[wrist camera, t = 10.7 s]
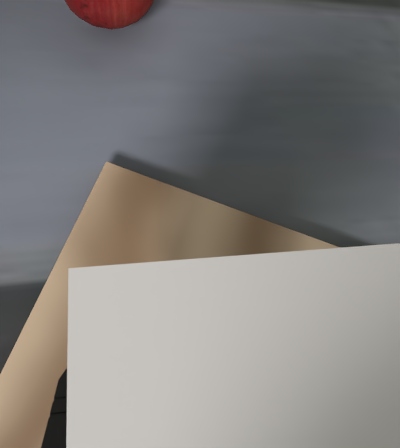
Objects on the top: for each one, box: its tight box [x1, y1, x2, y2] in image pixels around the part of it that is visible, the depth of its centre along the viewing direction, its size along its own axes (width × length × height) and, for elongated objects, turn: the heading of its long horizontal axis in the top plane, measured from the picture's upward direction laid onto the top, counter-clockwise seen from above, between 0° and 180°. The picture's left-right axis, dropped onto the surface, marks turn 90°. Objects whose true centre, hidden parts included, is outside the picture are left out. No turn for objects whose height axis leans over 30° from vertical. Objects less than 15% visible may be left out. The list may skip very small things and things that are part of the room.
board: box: [0, 162, 340, 448], centre depth 18 cm, size 18×18×1 cm
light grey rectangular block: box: [66, 243, 400, 448], centre depth 10 cm, size 6×6×10 cm
